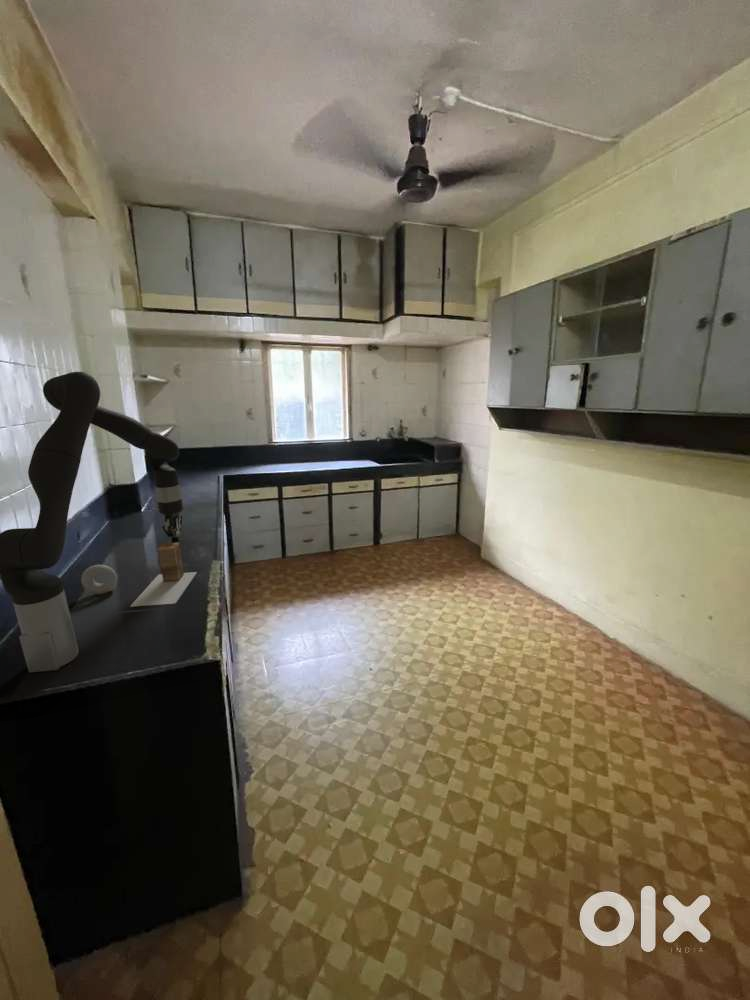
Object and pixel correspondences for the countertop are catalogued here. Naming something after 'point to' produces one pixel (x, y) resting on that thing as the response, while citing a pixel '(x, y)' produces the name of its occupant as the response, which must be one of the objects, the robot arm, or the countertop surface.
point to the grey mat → (163, 591)
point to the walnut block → (171, 562)
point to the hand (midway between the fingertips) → (176, 546)
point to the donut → (95, 587)
